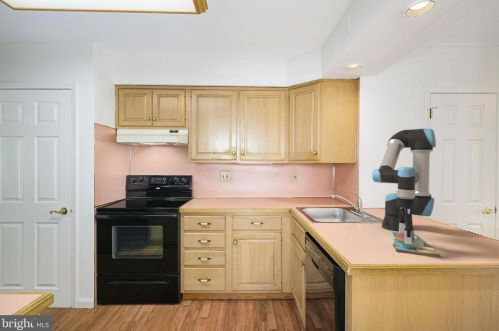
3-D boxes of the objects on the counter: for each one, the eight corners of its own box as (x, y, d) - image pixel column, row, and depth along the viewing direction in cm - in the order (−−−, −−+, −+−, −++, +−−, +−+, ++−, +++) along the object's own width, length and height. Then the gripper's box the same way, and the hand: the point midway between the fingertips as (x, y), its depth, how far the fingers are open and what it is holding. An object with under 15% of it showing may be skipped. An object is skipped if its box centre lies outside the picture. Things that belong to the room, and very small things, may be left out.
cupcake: (407, 244, 134) (408, 221, 134) (418, 250, 125) (419, 225, 125) (391, 244, 134) (392, 221, 133) (401, 250, 125) (402, 225, 125)
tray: (390, 236, 152) (390, 231, 152) (416, 239, 147) (417, 233, 147) (394, 243, 139) (394, 237, 139) (423, 246, 134) (423, 240, 134)
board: (392, 245, 136) (392, 242, 136) (432, 249, 130) (432, 247, 130) (396, 252, 126) (396, 249, 126) (440, 257, 120) (440, 254, 120)
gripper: (393, 193, 142) (392, 231, 143) (402, 201, 119) (401, 246, 119) (408, 194, 139) (407, 233, 140) (421, 202, 116) (420, 248, 117)
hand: (404, 239), depth 130 cm, fingers open, 13 cm apart
